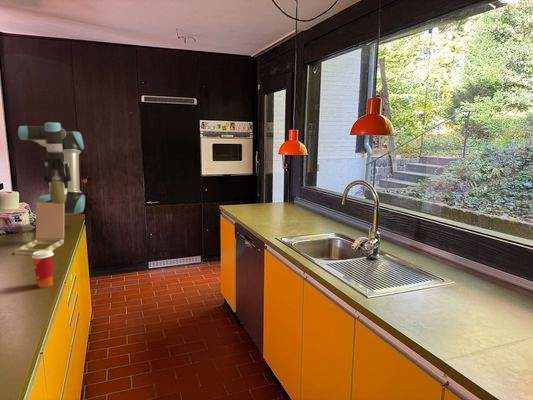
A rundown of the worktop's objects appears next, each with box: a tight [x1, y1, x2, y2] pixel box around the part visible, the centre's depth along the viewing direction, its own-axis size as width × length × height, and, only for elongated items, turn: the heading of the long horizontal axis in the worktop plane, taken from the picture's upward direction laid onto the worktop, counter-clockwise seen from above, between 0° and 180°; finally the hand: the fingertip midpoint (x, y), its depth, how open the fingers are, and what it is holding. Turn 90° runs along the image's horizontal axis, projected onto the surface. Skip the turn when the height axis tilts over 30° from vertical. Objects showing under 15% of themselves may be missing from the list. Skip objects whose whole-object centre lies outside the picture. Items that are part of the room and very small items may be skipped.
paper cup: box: [31, 250, 55, 289], centre depth 151 cm, size 8×8×14 cm
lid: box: [35, 202, 65, 240], centre depth 210 cm, size 20×15×1 cm
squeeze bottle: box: [49, 169, 67, 204], centre depth 203 cm, size 8×8×18 cm
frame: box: [14, 238, 65, 256], centre depth 200 cm, size 20×15×2 cm
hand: (58, 194), depth 204 cm, fingers closed on squeeze bottle, 6 cm apart
